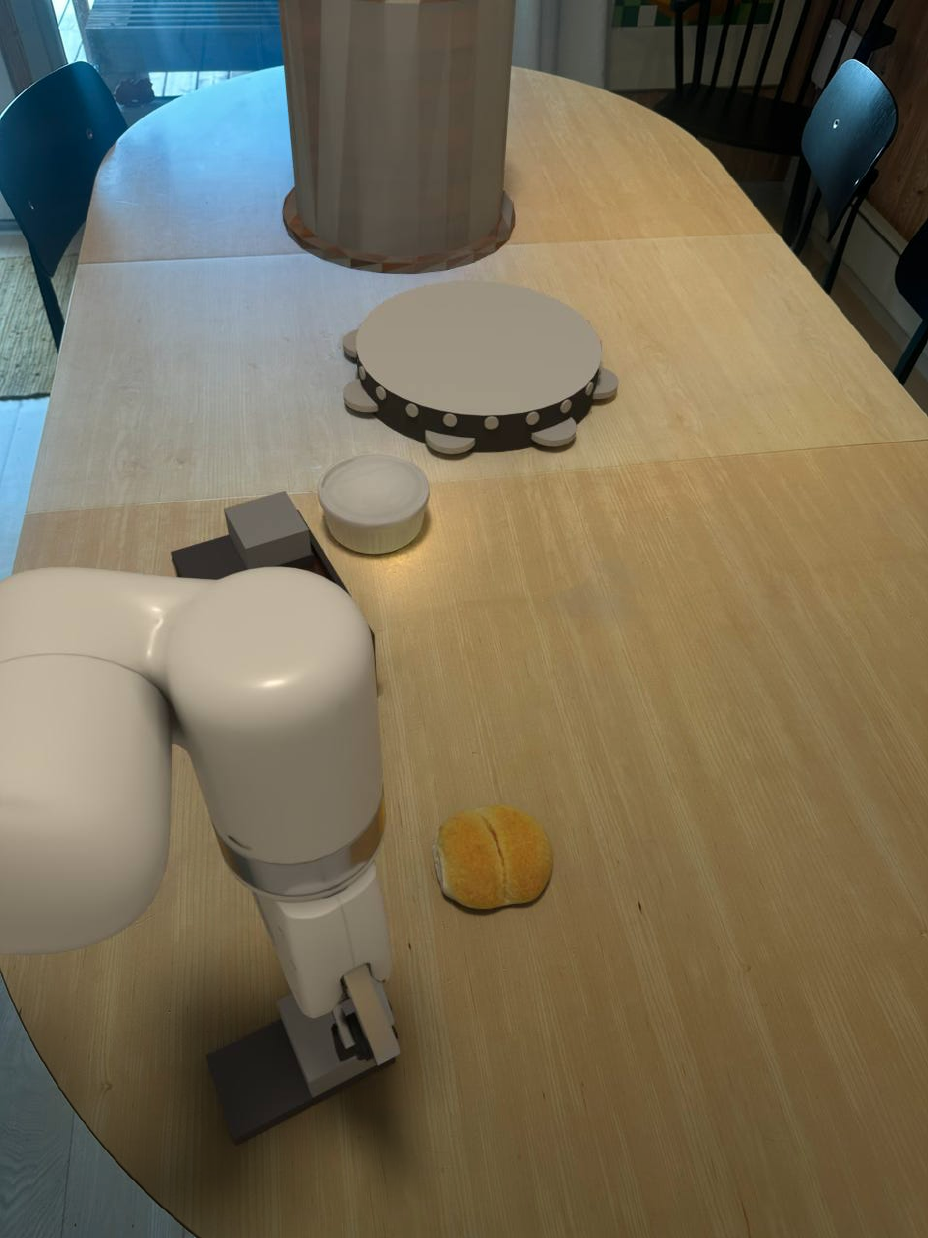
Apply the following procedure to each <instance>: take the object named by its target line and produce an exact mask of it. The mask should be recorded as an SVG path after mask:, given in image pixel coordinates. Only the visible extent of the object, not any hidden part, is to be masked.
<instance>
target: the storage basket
mask: <svg viewBox="0 0 928 1238" xmlns="http://www.w3.org/2000/svg"><path fill="white" fill-rule="evenodd" d="M277 6H278V15H279V26H280V37H281V49H282V61H283V70H284V71H283V72H284V82H285V94H286V105H287V115H288V117H287V118H288V127H289V137H290V138H289V139H290V149H291V159H292V171H293V183H294V184H293V185H294V186H293V187H292V188H291V190H290V191H289V192H288V193H287V194H286V196H285V197H284V200H283V205H282V209H281V214H282V215H281V216H282V222H283V224H284V227H285V229H286V232H287V235H288V236H289V237H290V239H292V240H293V241H294V242H295V243H296V244H297V245H298V246H299V247H300V248H301V249H302V250H305V251H307V253H310V254H312V255H314V256H316V257H317V258H320V259H322V260H324V261H327V262H329V263H333V264H336V265H340V266H342V267H346V268H349V269H354V270H359V271H360V270H361V271H366V272H367V271H368V272H374V273H380V274H422V273H432V272H440V271H447V270H452V269H455V268H458V267H463V266H466V265H470V264H474V263H476V262H478V261H481V260H482V259H484V258H487V257H488V256H490V255H492V254H494V253H496V252H497V251H498V250H499V249H501V247H502V246H503V245H505V244H506V243H507V242H508V241H509V240H510V238H511V236H512V234H513V231H514V229H515V227H516V216H517V215H516V211H515V203H514V202H513V200H512V199H511V198H510V196H509V195H508V193H507V192H506V191H505V190H504V182H505V170H506V169H505V168H506V167H505V166H506V154H507V153H506V152H507V140H508V139H507V137H508V125H509V108H510V107H509V106H510V93H511V80H512V79H511V78H512V65H513V49H514V38H515V37H514V36H515V35H514V34H515V21H516V6H517V0H277Z"/></svg>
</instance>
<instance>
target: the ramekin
mask: <svg viewBox="0 0 928 1238" xmlns="http://www.w3.org/2000/svg"><path fill="white" fill-rule="evenodd" d="M318 480H319V481H318V483H317V499H318V502H319V505H320V507H321V509H322V511H323V513H324V514H323V515H324V519H325V521H326V525H327V528H328V530H329V532H330V534H331V535H332V536H333V538H334V539H335V540H336V541H337V542H339V544H341V545H342V546H343V547H345V548H347V549H349V550H351V551H354V552H356V553H361V554H366V555H382V554H390V553H392V552H396V551H398V550H400V549H403V548H404V547H405V546H408V545H409V544H410V543H412V541H413V540H414V539H416V537H417V536H418V534H419V533H420V531H421V529H422V527H423V523H424V517H425V512H426V508H427V506H428V503H429V501H430V495H431V489H430V483H429V479H428V477H427V475H426V473H425V472H424V471H423V470H422V469H421V468H420V467H419V465H417V464H416V463H414V462H413V461H411V460H409V459H407V458H405V457H402V456H400V455H396V454H392V453H386V452H364V453H358V454H353V455H350V456H347V457H345V458H342V459H340V460H338V461H336V462H334V463H333V464H332V465H330V466H329V467H327V469H326V470H325V471H324V472H323V473H322V475H321V476H320V477H319V479H318Z"/></svg>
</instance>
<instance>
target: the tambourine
mask: <svg viewBox="0 0 928 1238" xmlns="http://www.w3.org/2000/svg"><path fill="white" fill-rule="evenodd" d="M342 350H343V351H344V353H346V354H347V355H348V356H350V357H352V358H354V359H356V369H357V370H356V371H357V379H354V380H352V381H350V382H348V383H347V384H346V385H345V387H344V389H343V392H342V393H343V395H342V396H343V401H344V404H345V405H346V406H347V407H348V408H350V409H351V410H354V411H357V412H360V413H372V414H373V415H374V416H375V418H376V419H378V420H379V421H380V422H382V423H383V424H384V425H386V426H387V427H388V428H390V429H392V430H393V431H395V432H397V433H398V434H400V435H402V436H403V437H407V438H409V439H412V440H414V441H416V442H419V443H423V444H425V445H426V444H427V445H428V446H429V448H431V449H432V450H434V451H436V452H439V453H442V454H447V455H455V454H462V453H466V452H468V453H502V452H510V451H511V452H512V451H518V450H523V449H527V448H531V447H532V448H533V447H535V446H536V447H537V446H539V445H542V446H546V447H560V446H564V445H568V444H570V443H571V442H572V441H574V439H575V438H576V435H577V429H578V426H577V425H579V424H580V422H582V420H583V419H585V417H586V416H587V415H588V414H589V412H590V411H591V408H592V406H593V404H594V401H595V400H603V399H608V398H611V397H612V396H613V395H615V394H616V392H617V391H618V387H619V378H618V376H617V375H616V374H615V373H614V372H613V371H611V370H609V369H607V368H605V367H603V365H604V361H602V356H603V355H602V352H603V341H602V340H600V338H599V335H598V333H597V332H596V330H595V329H594V327H593V325H592V324H591V322H590V320H587V319H586V317H584V316H583V315H582V314H581V313H579V311H577V310H576V309H574V308H573V307H571V306H570V305H568V304H567V303H565V302H564V301H562V300H560V299H557V298H555V297H553V296H551V295H549V294H546V293H543V292H541V291H537V290H535V289H531V288H529V287H524V286H520V285H516V284H512V283H505V282H498V281H487V280H453V281H452V280H451V281H442V282H436V283H430V284H426V285H425V284H424V285H422V286H418V287H413V288H410V289H408V290H406V291H403V292H400V293H398V294H395V295H394V296H391V297H390V298H388V299H385V300H384V301H383V302H381V303H380V304H378V305H377V306H376V307H375V308H373V309H372V310H371V311H370V312H369V313H368V314H367V316H365V318H364V319H363V320H362V322H361V324H359V325H358V328H357V329H353V330H351V331H348V332H347V333H346V334H345V335H344V336H343V338H342Z"/></svg>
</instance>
